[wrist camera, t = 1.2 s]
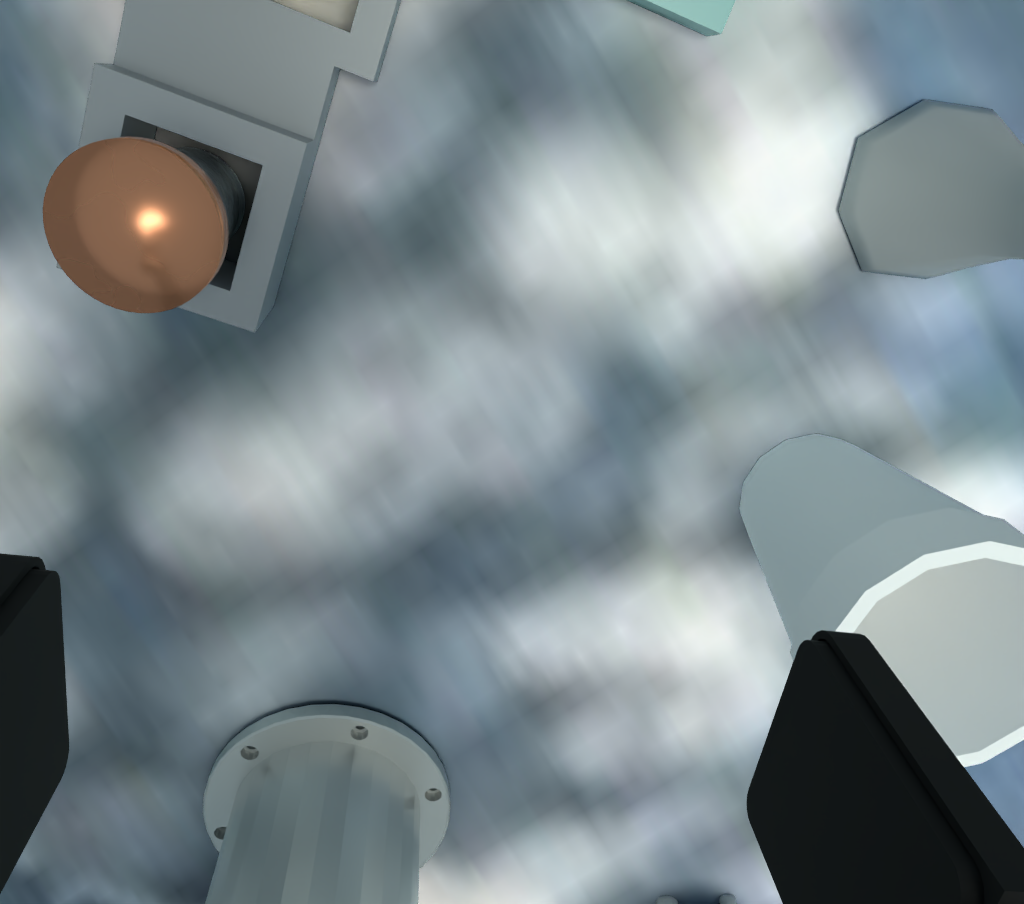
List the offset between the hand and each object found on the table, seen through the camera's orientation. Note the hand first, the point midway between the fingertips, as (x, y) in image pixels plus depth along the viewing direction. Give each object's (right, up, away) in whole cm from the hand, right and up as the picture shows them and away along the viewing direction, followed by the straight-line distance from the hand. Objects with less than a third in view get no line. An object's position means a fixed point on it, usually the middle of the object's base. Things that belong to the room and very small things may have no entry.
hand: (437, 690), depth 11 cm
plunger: (-11, +12, +21) cm, 26 cm away
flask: (+18, +14, +25) cm, 34 cm away
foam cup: (+15, +1, +30) cm, 34 cm away
